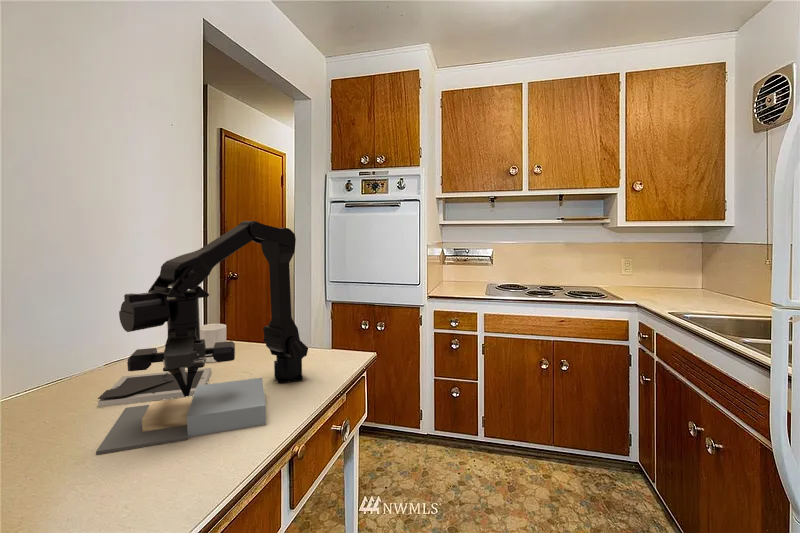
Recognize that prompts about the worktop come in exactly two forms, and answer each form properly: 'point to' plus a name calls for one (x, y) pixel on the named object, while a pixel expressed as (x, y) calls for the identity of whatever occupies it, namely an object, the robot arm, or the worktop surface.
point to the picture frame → (149, 388)
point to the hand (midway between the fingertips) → (186, 395)
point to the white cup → (212, 336)
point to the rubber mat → (138, 433)
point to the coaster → (166, 414)
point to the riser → (226, 407)
